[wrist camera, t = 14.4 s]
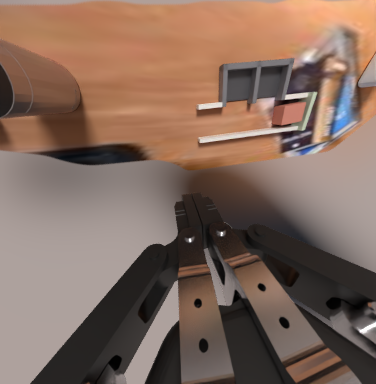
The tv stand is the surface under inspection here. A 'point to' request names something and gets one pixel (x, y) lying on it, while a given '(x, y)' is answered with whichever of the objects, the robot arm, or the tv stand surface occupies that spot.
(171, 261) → the robot arm
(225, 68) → the box
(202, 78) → the tv stand surface
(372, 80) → the photo printer
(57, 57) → the tv stand surface
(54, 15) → the tv stand surface
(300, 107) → the red block
